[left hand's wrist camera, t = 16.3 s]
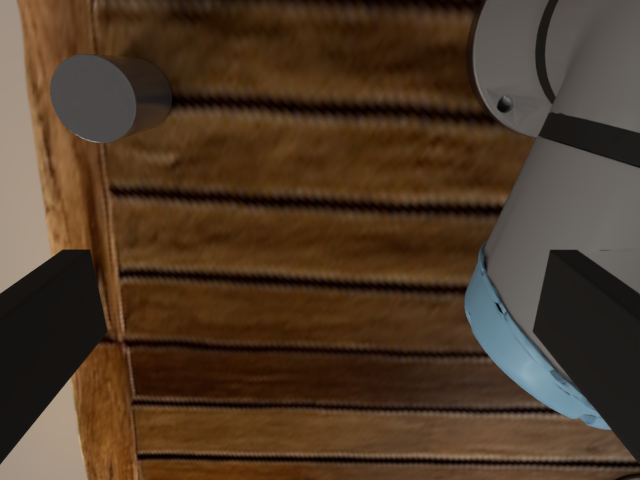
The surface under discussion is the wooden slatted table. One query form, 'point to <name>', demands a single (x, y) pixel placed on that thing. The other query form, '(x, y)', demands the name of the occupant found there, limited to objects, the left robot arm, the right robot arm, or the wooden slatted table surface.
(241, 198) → the wooden slatted table surface
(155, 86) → the dark grey cylinder
